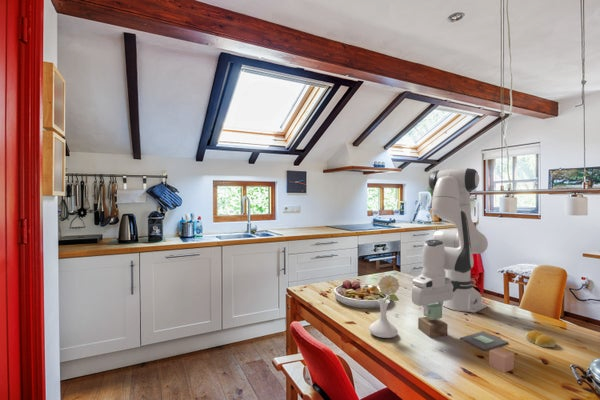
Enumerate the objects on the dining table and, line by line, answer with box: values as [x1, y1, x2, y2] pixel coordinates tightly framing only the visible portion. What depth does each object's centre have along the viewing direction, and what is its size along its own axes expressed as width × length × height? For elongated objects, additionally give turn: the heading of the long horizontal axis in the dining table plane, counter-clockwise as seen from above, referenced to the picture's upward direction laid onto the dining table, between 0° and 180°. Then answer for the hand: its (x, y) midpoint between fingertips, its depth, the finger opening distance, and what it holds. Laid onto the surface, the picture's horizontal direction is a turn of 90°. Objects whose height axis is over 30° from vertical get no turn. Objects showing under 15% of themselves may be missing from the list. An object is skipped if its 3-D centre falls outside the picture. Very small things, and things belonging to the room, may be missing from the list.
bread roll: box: [525, 329, 557, 348], centre depth 118 cm, size 8×9×4 cm
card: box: [459, 331, 509, 352], centre depth 119 cm, size 14×10×1 cm
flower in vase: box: [368, 274, 401, 339], centre depth 123 cm, size 13×11×25 cm
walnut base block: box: [417, 316, 448, 338], centre depth 126 cm, size 8×8×5 cm
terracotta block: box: [488, 346, 515, 374], centre depth 101 cm, size 5×5×5 cm
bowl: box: [333, 279, 391, 309], centre depth 165 cm, size 30×30×8 cm
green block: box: [423, 302, 443, 320], centre depth 126 cm, size 5×5×5 cm
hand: (432, 312), depth 126 cm, fingers closed on green block, 5 cm apart
